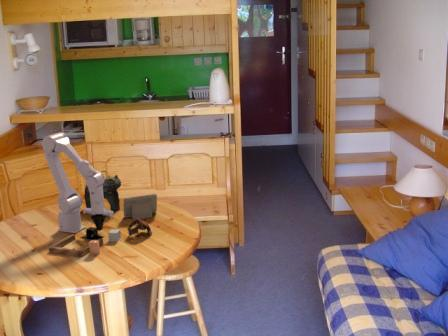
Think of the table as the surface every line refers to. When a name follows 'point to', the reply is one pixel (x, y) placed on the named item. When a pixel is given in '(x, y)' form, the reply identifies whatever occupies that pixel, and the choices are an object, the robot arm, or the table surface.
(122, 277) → the table surface
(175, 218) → the table surface
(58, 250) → the bay
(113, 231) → the light gray block
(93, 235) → the black boxy piece
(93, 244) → the pinkish-brown rounded block
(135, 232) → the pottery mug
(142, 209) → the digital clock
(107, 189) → the power drill
